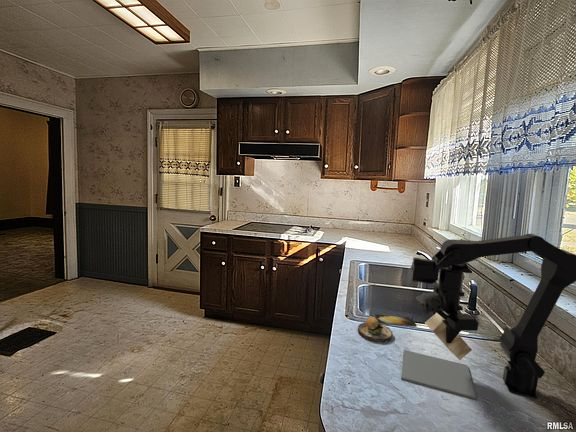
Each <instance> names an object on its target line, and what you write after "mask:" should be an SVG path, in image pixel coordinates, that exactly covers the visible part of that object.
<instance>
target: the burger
mask: <svg viewBox="0 0 576 432" xmlns="http://www.w3.org/2000/svg"><path fill="white" fill-rule="evenodd" d="M368 317H369V318H367V319H366V321H365V322H362V323H360V324H359V325H358V327H357V333H358V335H359V336H360V337H361V338H362V339H364V340H365V341H366V340H367V341H369V342H372V343H376V344H377V343H387V342H388V341H389V339H390V338H392V336H393V332H392V329H390V327H388V326H386V325H385V324H379V323H378V321H377V319H376V318H374V317H370V316H368Z"/></svg>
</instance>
